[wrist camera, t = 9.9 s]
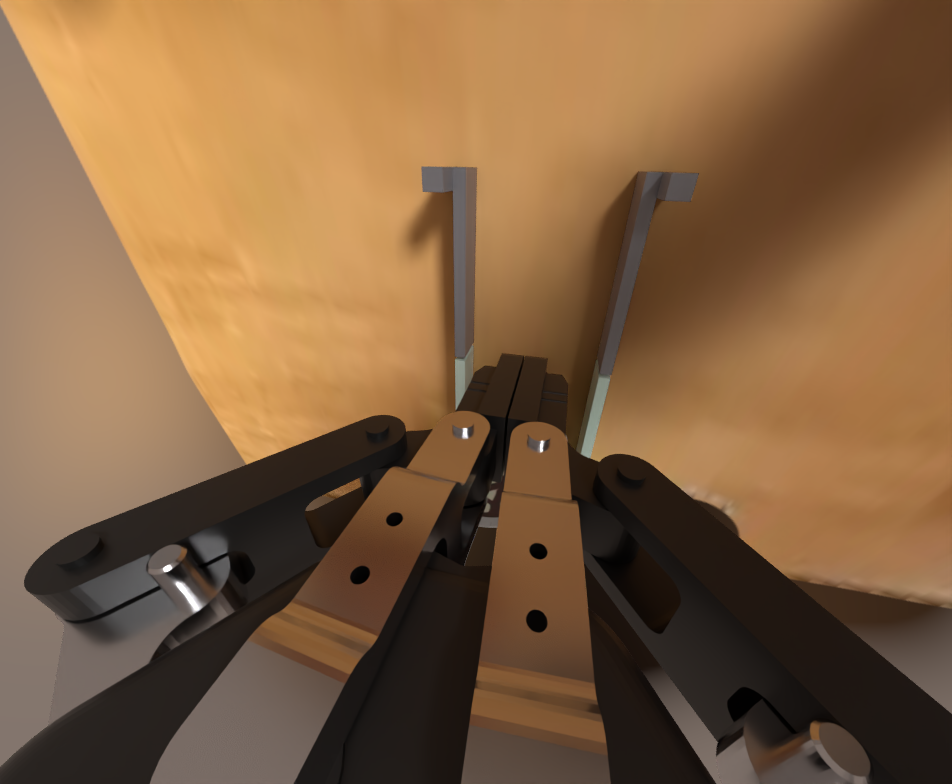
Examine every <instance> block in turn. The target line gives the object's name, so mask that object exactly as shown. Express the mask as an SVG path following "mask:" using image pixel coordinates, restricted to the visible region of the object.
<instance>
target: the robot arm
mask: <svg viewBox="0 0 952 784" xmlns="http://www.w3.org/2000/svg"><path fill="white" fill-rule="evenodd" d="M547 360H548V358H539V357H530V356H525V360H524V356H521V355H513V354H504V353H502V355H501V357H500V360H499V362H498V364H497V367H491V366H484V367H482V368H481V369H479V370H478V371H476V372H475V374H474V376H473V378H472V380H471V383H470V384H469V385H468V387H467V390H466V391H465V393H464V395H463V397H462V399H461V401H460V403H459V405H458V407H457V409H456V411H455V412H453V413H449V414H447V415H445V416H444V417H442V418H441V419H440V420H439V421H438V423H437V424H436V426H435V427H434V429H431V430H424V431H408V432H406V429H405V425H404V423H403V422H402V421H401V420H400V419H398V418H397V417H394V416H389V415H378V416H372V417H369V418H366V419H363V420H361V421H358V422H356V423H353V424H350V425H348V426H345V427H343V428H340V429H338V430H335V431H332V432H330V433H327V434H325V435H322V436H320V437H317V438H314V439H312V440H309V441H307V442H304V443H302V444H299V445H296V446H294V447H291V448H289V449H286V450H284V451H281V452H278V453H276V454H273V455H271V456H268V457H266V458H263V459H260V460H258V461H255V462H253V463H250V464H248V465H245V466H242V467H240V468H237V469H235V470H232V471H230V472H227V473H224V474H222V475H219V476H217V477H214V478H211V479H209V480H207V481H204V482H201V483H199V484H196V485H194V486H191V487H188V488H186V489H183V490H181V491H178V492H175V493H173V494H170V495H168V496H166V497H163V498H160V499H157V500H155V501H152V502H150V503H147V504H145V505H142V506H139V507H137V508H134V509H132V510H129V511H127V512H124V513H122V514H119V515H116V516H114V517H111V518H109V519H106V520H104V521H101V522H99V523H96V524H93V525H91V526H88V527H86V528H83V529H81V530H79V531H77V532H75V533H73V534H71V535H69V536H67V537H65V538H64V539H62V540H60V541H59V542H57V543H56V544H55V545H53V546H52V547H50V548H49V549H48V550H47V551H45V552H44V553H43V554H42V555H41V556H40V557H39V558H38V559H37V560H36V561H35V562H34V563H33V565H32V566H31V568H30V569H29V570H28V573H27V574H26V576H25V580H24V586H25V588H26V590H27V591H28V592H30V593H31V594H32V595H34V596H35V597H36V598H37V599H38V600H40V601H41V602H42V603H44V604H45V605H46V606H47V607H49V608H50V609H51V610H52V611H53V612H55V615H56V617H57V619H59V620H60V621H61V622H62V623H63V624H64V632H63V639H62V645H61V651H60V657H59V663H58V670H57V675H56V682H55V688H54V694H53V700H52V707H51V712H50V719H49V725H48V726H47V727H46V728H45V729H43V730H42V731H41V732H40V733H38V734H37V735H36V736H34V737H33V738H32V739H31V740H30V741H28V742H27V743H26V744H25V745H24V746H23V747H21V748H20V749H19V750H18V751H17V752H16V753H14V754H13V755H12V756H11V757H10V758H9V759H8V760H7V761H6V762H5V763H4V764H3V765H2V766H1V767H0V784H716V783H715V781H714V780H713V778H712V777H711V775H710V774H709V772H708V771H707V769H706V767H705V766H704V765H703V763H702V762H701V760H700V758H699V757H698V755H697V754H696V753H695V751H694V749H693V748H692V746H691V745H690V743H689V742H688V740H687V739H686V737H685V736H684V734H683V733H682V731H681V730H680V728H679V727H678V725H677V724H676V722H675V721H674V719H673V718H672V716H671V715H670V713H669V712H668V710H667V709H666V707H665V706H664V704H663V703H662V701H661V700H660V698H659V697H658V695H657V694H656V692H655V690H654V689H653V688H652V686H651V685H650V683H649V681H648V680H647V678H646V677H645V675H644V674H643V672H642V671H641V669H640V668H639V667H638V665H637V663H636V662H635V660H634V659H633V657H632V656H631V654H630V653H629V651H628V650H627V648H626V647H625V646H624V644H623V643H622V641H621V640H620V639H619V638H618V636H617V635H616V634H615V633H614V632H613V630H612V629H611V628H610V627H609V626H608V625H607V624H606V623H605V622H604V621H603V620H602V619H601V618H600V617H599V616H598V615H596V614H595V613H594V612H593V611H592V610H590V609H589V608H588V605H587V594H586V583H585V572H584V563H585V564H586V566H587V567H588V568H589V570H590V571H591V572H592V574H593V575H594V576H595V578H596V579H597V581H598V582H599V583H600V585H601V586H602V587H603V589H604V590H605V591H606V593H607V594H608V595H609V597H610V598H611V599H612V601H613V602H614V603H615V605H616V606H617V607H618V609H619V610H620V611H621V613H622V614H623V616H624V617H625V618H626V620H627V621H628V622H629V624H630V625H631V626H632V628H633V629H634V630H635V632H636V633H637V634H638V636H639V637H640V638H641V640H642V641H643V642H644V644H645V645H646V646H647V648H648V649H649V650H650V652H651V653H652V654H653V656H654V657H655V658H656V660H657V661H658V662H659V664H660V665H661V667H662V668H663V669H664V671H665V672H666V673H667V675H668V676H669V677H670V679H671V680H672V681H673V683H674V684H675V685H676V687H677V688H678V689H679V691H680V692H681V693H682V695H683V696H684V697H685V699H686V700H687V701H688V703H689V704H690V705H691V707H692V708H693V709H694V711H695V712H696V714H697V715H698V716H699V718H700V719H701V720H702V722H703V723H704V724H705V726H706V727H707V728H708V730H709V731H710V732H711V734H712V735H713V736H714V738H715V739H716V740H717V742H718V743H717V747H716V762H717V769H718V773H719V777H720V780H721V783H722V784H952V714H951V713H950V712H949V711H947V710H946V709H945V708H944V707H943V706H941V705H940V704H939V703H938V702H937V701H935V700H934V699H933V698H932V697H931V696H929V695H928V694H927V693H926V692H924V691H923V690H922V689H921V688H920V687H918V686H917V685H916V684H915V683H914V682H913V681H911V680H910V679H909V678H908V677H907V676H905V675H904V674H903V673H901V672H900V671H899V670H898V669H897V668H896V667H894V666H893V665H892V664H891V663H890V662H888V661H887V660H886V659H885V658H884V657H882V656H881V655H880V654H879V653H878V652H876V651H875V650H874V649H873V648H871V647H870V646H869V645H868V644H867V643H866V642H864V641H863V640H862V639H861V638H860V637H858V636H857V635H856V634H855V633H853V632H852V631H851V630H850V629H849V628H847V627H846V626H845V625H844V624H843V623H841V622H840V621H839V620H838V619H837V618H835V617H834V616H833V615H832V614H831V613H829V612H828V611H827V610H826V609H825V608H823V607H822V606H821V605H820V604H818V603H817V602H816V601H815V600H814V599H813V598H811V597H810V596H809V595H808V594H807V593H805V592H804V591H803V590H802V589H800V588H799V587H798V586H797V585H796V584H795V583H793V582H792V581H791V580H790V579H789V578H787V577H786V576H785V575H784V574H782V573H781V572H780V571H779V570H778V569H776V568H775V567H774V566H773V565H772V564H770V563H769V562H768V561H767V560H766V559H764V558H763V557H762V556H761V555H760V554H758V553H757V552H756V551H755V550H754V549H752V548H751V547H750V546H749V545H748V544H746V543H745V542H744V541H743V540H742V539H740V538H739V537H738V536H737V535H736V534H734V533H733V532H732V531H731V530H729V529H728V528H727V527H726V526H725V525H723V524H722V523H721V522H720V521H719V520H717V519H716V518H715V517H714V516H713V515H711V514H710V513H709V512H708V511H707V510H705V509H704V508H703V507H702V506H701V505H699V504H698V503H697V502H696V501H695V500H693V499H692V498H691V497H690V496H689V495H687V494H686V493H685V492H684V491H683V490H681V489H680V488H679V487H678V486H676V485H675V484H674V483H673V482H672V481H670V480H669V479H668V478H667V477H666V476H664V475H663V474H662V473H661V472H660V471H658V470H657V469H656V468H655V467H654V466H652V465H651V464H650V463H648V462H646V461H644V460H642V459H640V458H638V457H635V456H631V455H626V454H613V455H609V456H607V457H605V458H603V459H602V460H601V461H600V462H598V461H595V460H593V459H590V458H588V457H586V456H583V455H582V454H580V453H578V452H577V451H576V450H574V449H573V448H572V447H571V445H570V444H569V443H568V441H567V438H566V416H567V397H568V396H567V395H568V383H567V382H566V380H565V379H564V377H563V376H562V375H556V374H548V373H546V368H547ZM503 473H504V482H503V483H504V491H502V497H501V504H500V511H499V519H498V526H497V534H496V541H495V548H494V555H493V563H492V566H464V565H465V561H466V558H467V555H468V553H469V550H470V547H471V545H472V542H473V539H474V537H475V534H476V531H477V529H478V526H479V523H480V521H481V518H482V515H483V513H484V510H485V507H486V505H487V495H488V494H489V491H490V488H491V484H492V481H493V482H498V483H501V481H502V477H503ZM358 478H360V483H361V487H360V488H358V489H356V490H353V491H351V492H349V493H347V494H345V495H343V496H341V497H339V498H337V499H335V500H333V501H331V502H329V503H327V504H325V505H323V506H321V507H319V508H317V509H315V510H312V511H305V509H306V507H307V506H308V505H309V503H311V502H312V501H313V500H314V499H316V498H318V497H320V496H322V495H324V494H326V493H328V492H330V491H332V490H335V489H337V488H339V487H341V486H343V485H345V484H347V483H349V482H351V481H353V480H356V479H358Z"/></svg>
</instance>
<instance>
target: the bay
mask: <svg viewBox="0 0 952 784" xmlns="http://www.w3.org/2000/svg"><path fill="white" fill-rule="evenodd" d="M698 175H699V173H676V172H638V175H637V180H636V184H635V189H634V193H633V198H632V202H631V207H630V211H629V216H628V220H627V224H626V229H625V233H624V238H623V242H622V247H621V251H620V256H619V260H618V265H617V269H616V274H615V278H614V283H613V287H612V291H611V296H610V300H609V305H608V309H607V314H606V318H605V323H604V327H603V332H602V336H601V341H600V345H599V350H598V354H597V359H598V366H599V372H600V374H604V375H612V371H613V367H614V363H615V359H616V355H617V351H618V347H619V343H620V339H621V335H622V332H623V328H624V324H625V320H626V316H627V312H628V308H629V304H630V300H631V296H632V292H633V289H634V285H635V281H636V277H637V273H638V269H639V265H640V261H641V257H642V253H643V249H644V246H645V242H646V238H647V234H648V230H649V226H650V222H651V218H652V214H653V210H654V206H655V203H656V199H657V198H658V199H661V200H664V201H684V202H691V198H692V195H693V192H694V188H695V185H696V182H697V178H698ZM422 185H423V192H448V191H453V238H454V316H455V357H462V358H465V357H466V355H467V353H468V352H469V350H470V348H471V346H472V344H473V343H474V298H475V243H476V187H477V168H473V167H422Z"/></svg>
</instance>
